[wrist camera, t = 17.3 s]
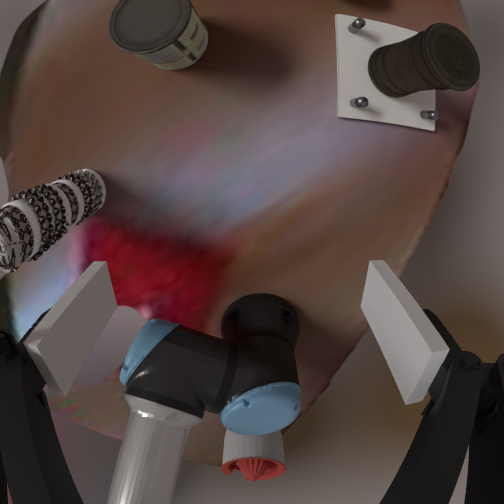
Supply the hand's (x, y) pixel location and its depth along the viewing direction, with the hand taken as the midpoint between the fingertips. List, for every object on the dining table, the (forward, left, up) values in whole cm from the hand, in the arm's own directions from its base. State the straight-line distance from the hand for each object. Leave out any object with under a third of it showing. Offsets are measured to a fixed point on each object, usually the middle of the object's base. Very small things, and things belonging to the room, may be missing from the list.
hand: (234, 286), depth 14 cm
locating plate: (+18, -23, -35) cm, 45 cm away
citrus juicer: (-65, 0, -35) cm, 74 cm away
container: (+18, -23, -34) cm, 45 cm away
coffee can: (+22, +11, -35) cm, 43 cm away
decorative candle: (-2, +29, -35) cm, 45 cm away
